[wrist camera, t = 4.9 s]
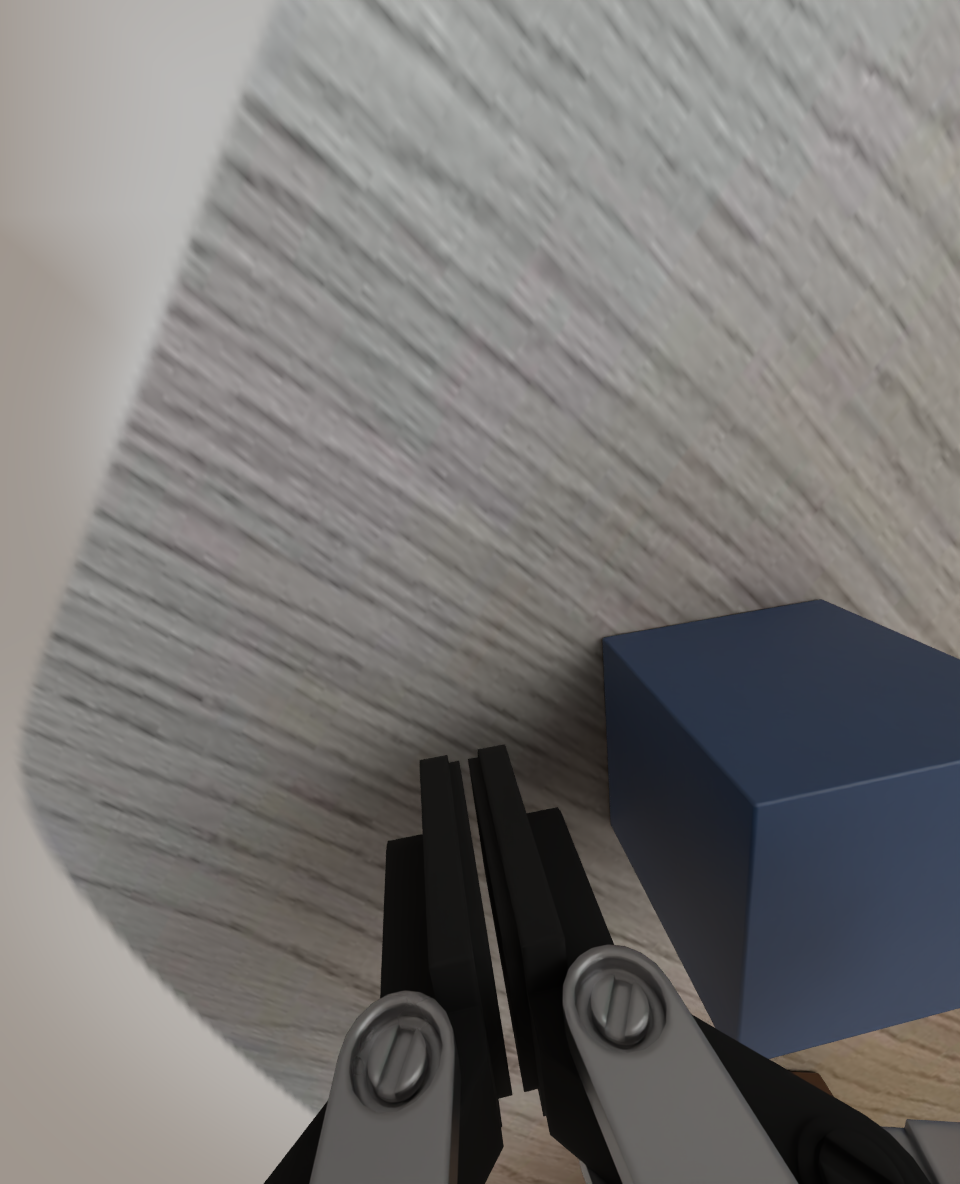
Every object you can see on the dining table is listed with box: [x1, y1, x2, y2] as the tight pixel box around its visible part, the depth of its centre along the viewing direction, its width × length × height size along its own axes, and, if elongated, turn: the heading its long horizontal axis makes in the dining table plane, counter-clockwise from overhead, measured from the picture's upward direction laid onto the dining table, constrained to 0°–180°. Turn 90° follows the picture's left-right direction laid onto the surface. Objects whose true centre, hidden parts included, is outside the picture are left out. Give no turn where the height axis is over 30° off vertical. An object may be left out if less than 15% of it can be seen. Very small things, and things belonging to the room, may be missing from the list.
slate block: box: [602, 599, 960, 1059], centre depth 10 cm, size 5×5×5 cm
